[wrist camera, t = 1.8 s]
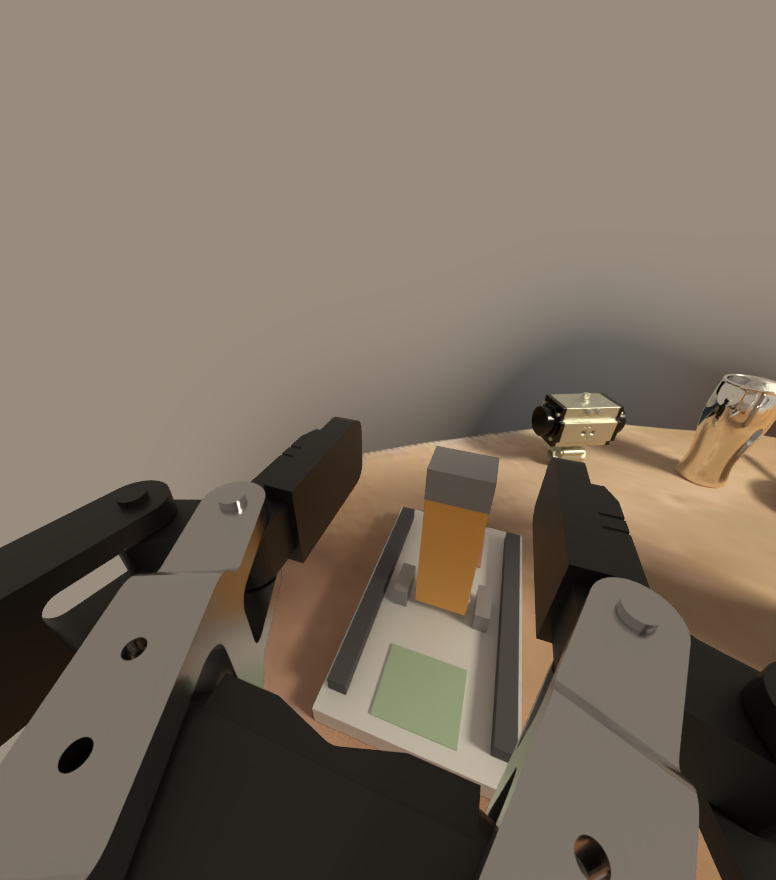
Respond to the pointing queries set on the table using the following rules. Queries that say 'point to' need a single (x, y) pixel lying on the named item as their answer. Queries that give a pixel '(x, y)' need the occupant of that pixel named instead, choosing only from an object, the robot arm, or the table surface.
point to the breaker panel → (429, 671)
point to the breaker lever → (454, 526)
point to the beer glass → (729, 428)
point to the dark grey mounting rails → (507, 643)
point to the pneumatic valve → (577, 423)
